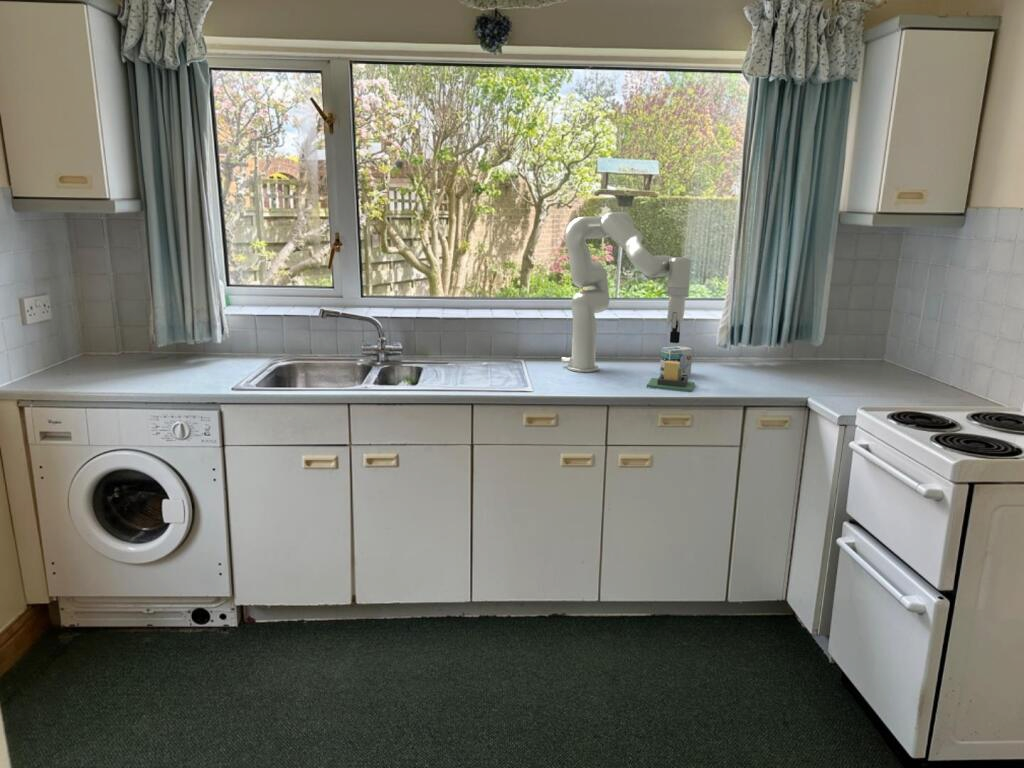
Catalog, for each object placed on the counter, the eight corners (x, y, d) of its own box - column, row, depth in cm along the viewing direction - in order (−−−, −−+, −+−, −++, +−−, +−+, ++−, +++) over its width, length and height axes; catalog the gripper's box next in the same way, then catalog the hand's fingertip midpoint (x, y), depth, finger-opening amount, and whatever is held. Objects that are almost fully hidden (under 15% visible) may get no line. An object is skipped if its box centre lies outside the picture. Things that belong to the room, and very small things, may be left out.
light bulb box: (668, 377, 283) (670, 350, 280) (658, 373, 289) (660, 346, 286) (691, 375, 287) (693, 348, 284) (681, 371, 293) (683, 345, 290)
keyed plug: (663, 383, 268) (664, 362, 266) (664, 381, 272) (666, 360, 270) (679, 385, 266) (681, 364, 264) (681, 383, 270) (682, 362, 268)
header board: (646, 387, 266) (647, 379, 266) (651, 380, 277) (652, 372, 277) (691, 392, 261) (691, 383, 260) (694, 384, 272) (695, 376, 271)
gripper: (670, 289, 269) (666, 338, 273) (664, 293, 255) (661, 345, 260) (691, 290, 266) (687, 340, 271) (686, 295, 253) (682, 347, 257)
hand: (674, 342), depth 265 cm, fingers closed
